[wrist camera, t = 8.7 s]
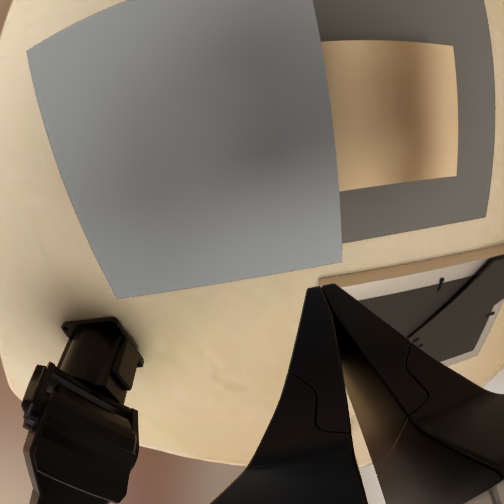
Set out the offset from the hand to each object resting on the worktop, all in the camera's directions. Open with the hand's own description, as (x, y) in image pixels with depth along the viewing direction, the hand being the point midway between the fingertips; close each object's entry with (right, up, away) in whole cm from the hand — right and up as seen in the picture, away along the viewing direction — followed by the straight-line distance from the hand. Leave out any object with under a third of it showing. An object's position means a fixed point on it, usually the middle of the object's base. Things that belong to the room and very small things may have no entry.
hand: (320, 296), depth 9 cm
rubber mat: (+8, +11, +7) cm, 15 cm away
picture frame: (+14, -5, +19) cm, 24 cm away
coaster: (+6, +10, +7) cm, 13 cm away
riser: (-5, +8, +8) cm, 13 cm away
